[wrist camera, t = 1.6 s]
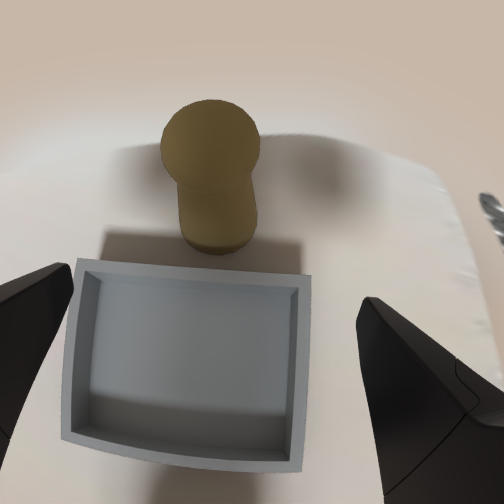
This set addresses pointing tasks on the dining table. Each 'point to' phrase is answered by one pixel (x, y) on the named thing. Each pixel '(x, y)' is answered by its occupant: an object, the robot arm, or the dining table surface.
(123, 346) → the tray
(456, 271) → the dining table surface
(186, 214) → the cork
